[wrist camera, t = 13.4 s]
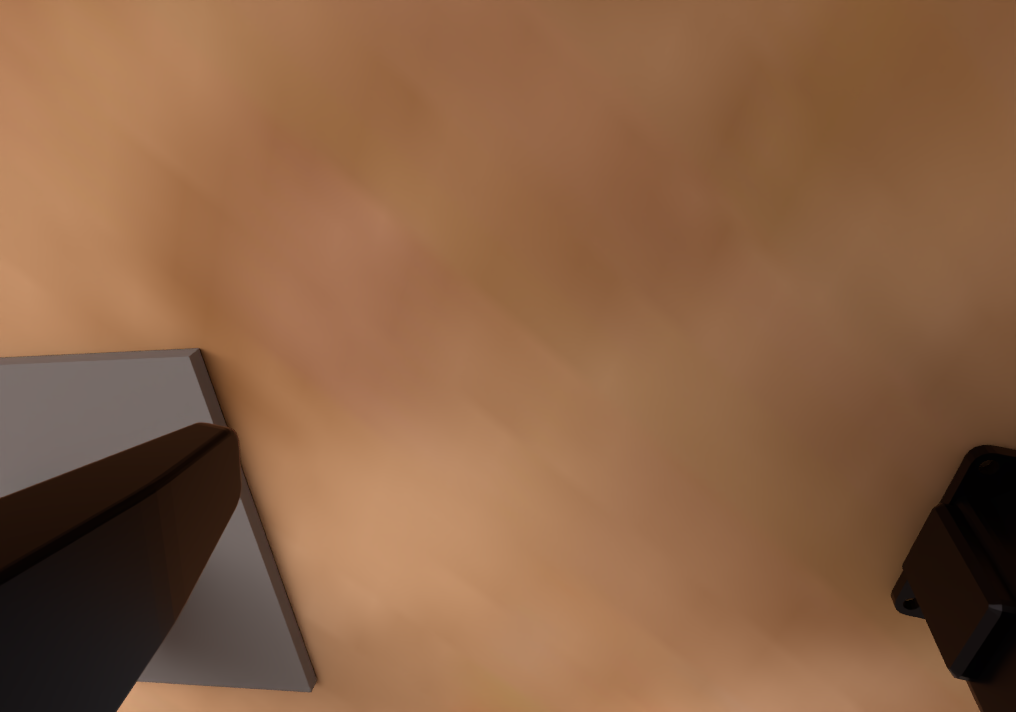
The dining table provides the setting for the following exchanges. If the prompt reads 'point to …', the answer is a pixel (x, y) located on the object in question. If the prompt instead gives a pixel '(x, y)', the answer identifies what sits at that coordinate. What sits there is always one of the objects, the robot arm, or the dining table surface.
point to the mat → (130, 422)
